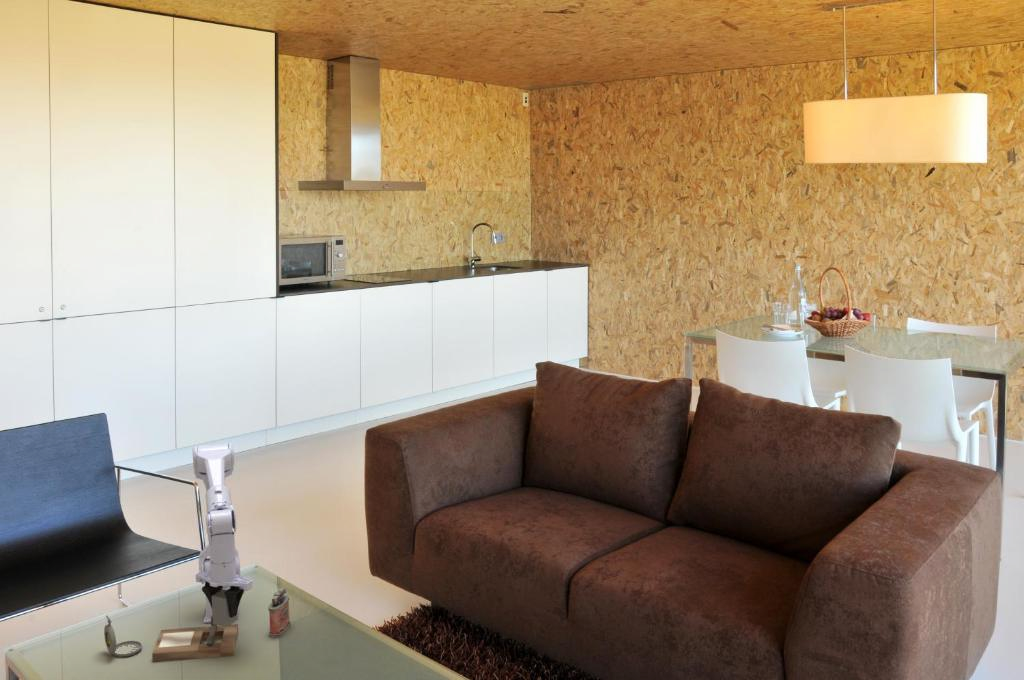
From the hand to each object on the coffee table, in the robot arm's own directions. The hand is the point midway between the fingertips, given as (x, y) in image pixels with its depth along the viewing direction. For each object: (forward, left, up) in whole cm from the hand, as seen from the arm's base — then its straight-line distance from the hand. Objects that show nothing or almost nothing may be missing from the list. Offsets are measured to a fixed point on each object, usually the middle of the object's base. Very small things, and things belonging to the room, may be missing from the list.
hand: (225, 614), depth 226 cm
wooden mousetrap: (-2, -7, -9) cm, 11 cm away
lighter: (-7, +12, -9) cm, 17 cm away
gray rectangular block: (0, 0, -2) cm, 2 cm away
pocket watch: (-2, -24, -9) cm, 26 cm away
